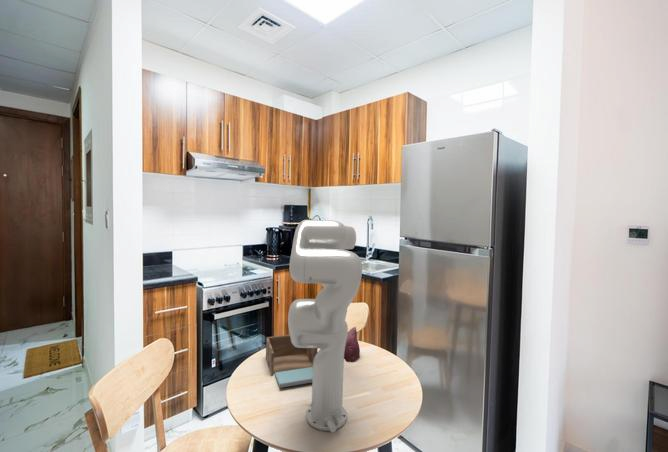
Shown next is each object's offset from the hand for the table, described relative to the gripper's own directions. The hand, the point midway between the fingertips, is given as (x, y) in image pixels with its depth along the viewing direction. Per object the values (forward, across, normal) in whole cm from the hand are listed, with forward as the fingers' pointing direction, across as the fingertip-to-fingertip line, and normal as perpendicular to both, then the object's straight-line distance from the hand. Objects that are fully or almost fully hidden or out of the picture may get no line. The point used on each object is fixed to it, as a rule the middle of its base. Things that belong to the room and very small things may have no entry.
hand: (328, 305), depth 118 cm
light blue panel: (+26, +2, +12) cm, 29 cm away
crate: (+27, +10, +12) cm, 31 cm away
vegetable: (+27, +11, -14) cm, 33 cm away
